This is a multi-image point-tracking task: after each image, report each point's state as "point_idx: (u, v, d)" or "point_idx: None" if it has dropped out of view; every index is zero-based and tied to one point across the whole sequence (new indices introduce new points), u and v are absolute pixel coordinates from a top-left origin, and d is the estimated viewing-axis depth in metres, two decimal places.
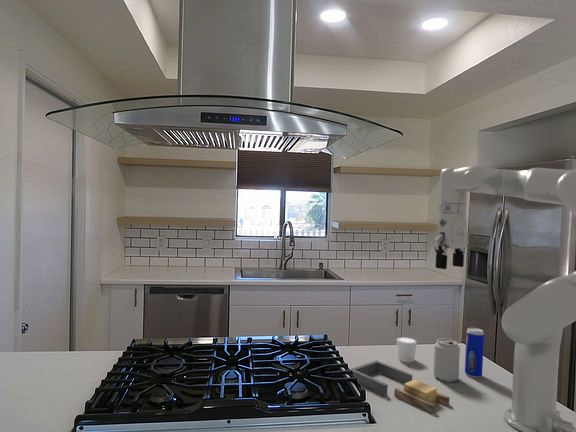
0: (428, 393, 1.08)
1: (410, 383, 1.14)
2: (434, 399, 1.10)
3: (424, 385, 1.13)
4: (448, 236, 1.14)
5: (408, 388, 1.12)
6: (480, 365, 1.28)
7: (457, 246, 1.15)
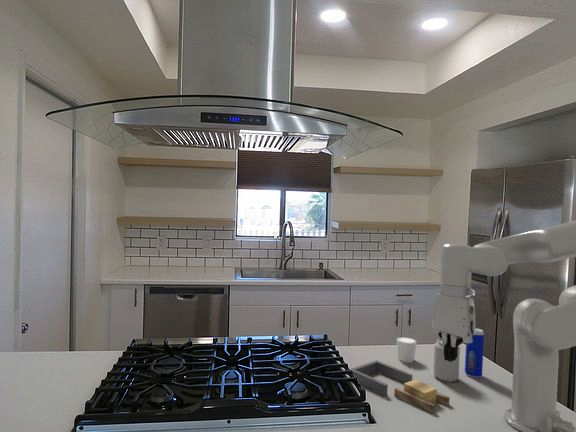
0: (427, 393, 1.08)
1: (410, 383, 1.14)
2: (434, 399, 1.10)
3: (425, 385, 1.12)
4: (474, 323, 1.02)
5: (408, 387, 1.12)
6: (480, 365, 1.28)
7: None
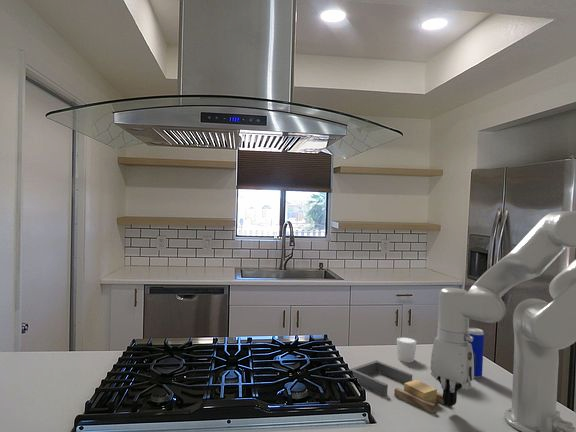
0: (427, 393, 1.08)
1: (410, 383, 1.14)
2: (434, 400, 1.10)
3: (425, 385, 1.12)
4: (473, 369, 1.02)
5: (408, 387, 1.12)
6: (480, 365, 1.28)
7: None
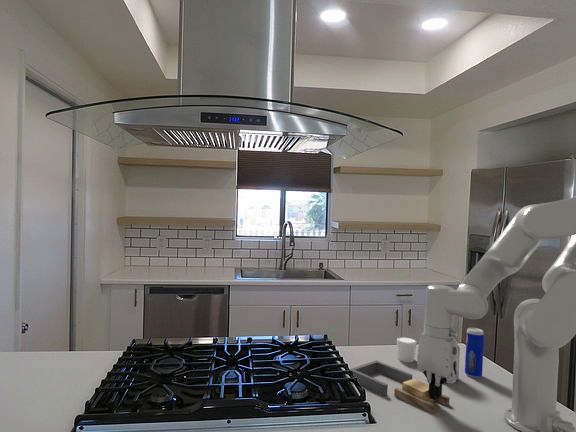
0: (425, 392, 1.09)
1: (408, 382, 1.14)
2: None
3: (423, 384, 1.13)
4: (458, 363, 1.06)
5: (406, 386, 1.13)
6: (480, 365, 1.28)
7: None
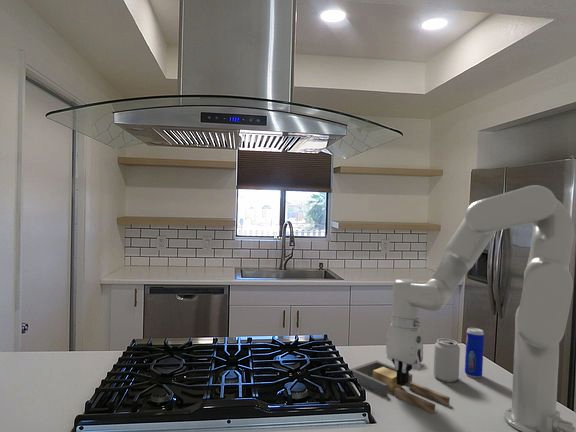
0: (394, 378, 1.17)
1: (378, 370, 1.22)
2: None
3: (391, 371, 1.21)
4: (422, 351, 1.14)
5: (376, 374, 1.21)
6: (480, 365, 1.28)
7: None
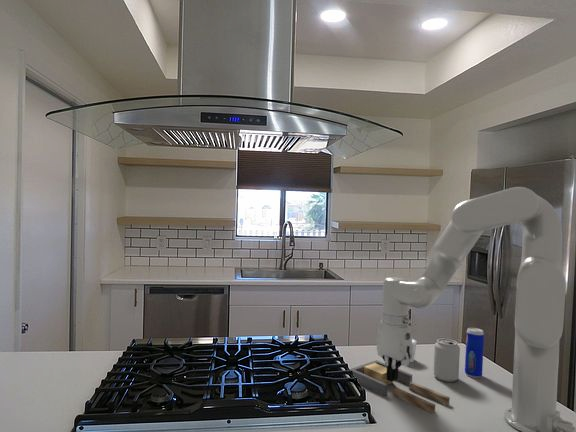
0: (384, 374, 1.20)
1: (370, 366, 1.25)
2: None
3: (382, 367, 1.24)
4: (411, 348, 1.17)
5: (367, 370, 1.24)
6: (480, 365, 1.28)
7: None
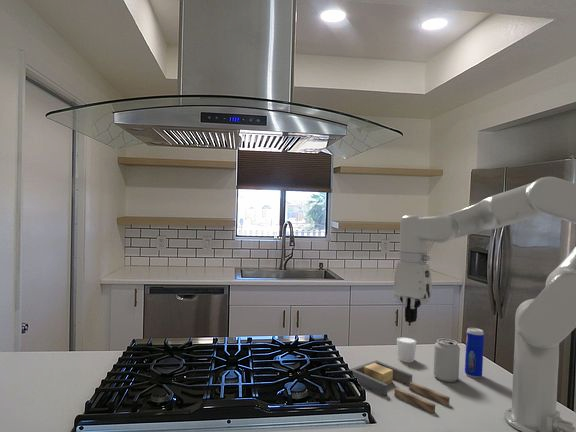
0: (385, 374, 1.20)
1: (369, 366, 1.25)
2: (390, 380, 1.22)
3: (382, 367, 1.24)
4: (431, 286, 1.12)
5: (367, 370, 1.24)
6: (480, 365, 1.28)
7: None
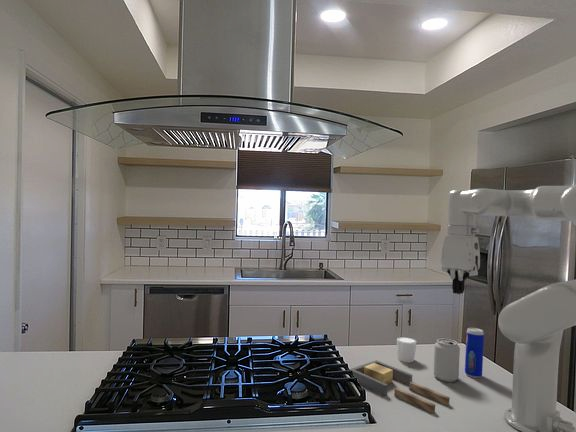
0: (385, 374, 1.20)
1: (369, 366, 1.25)
2: (390, 379, 1.22)
3: (382, 367, 1.24)
4: (479, 259, 1.16)
5: (368, 370, 1.23)
6: (480, 365, 1.28)
7: None
